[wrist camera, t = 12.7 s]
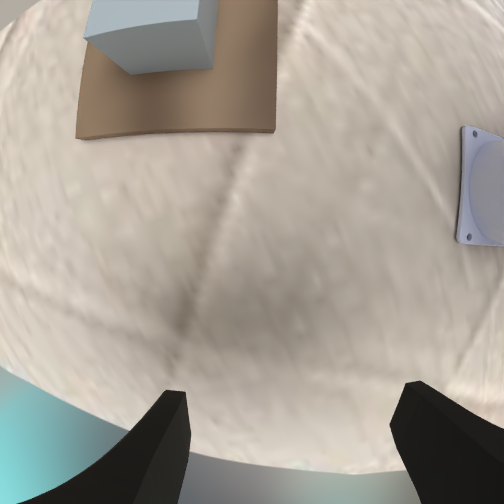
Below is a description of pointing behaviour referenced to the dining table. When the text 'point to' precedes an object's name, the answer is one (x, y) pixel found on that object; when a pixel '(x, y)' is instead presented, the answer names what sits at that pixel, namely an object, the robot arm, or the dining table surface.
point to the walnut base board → (190, 84)
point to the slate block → (154, 33)
